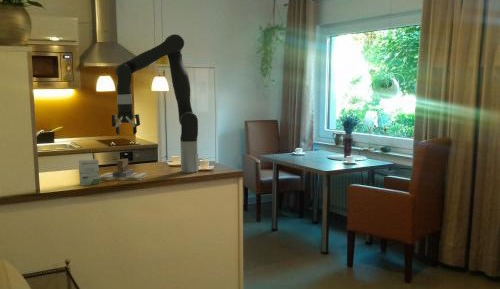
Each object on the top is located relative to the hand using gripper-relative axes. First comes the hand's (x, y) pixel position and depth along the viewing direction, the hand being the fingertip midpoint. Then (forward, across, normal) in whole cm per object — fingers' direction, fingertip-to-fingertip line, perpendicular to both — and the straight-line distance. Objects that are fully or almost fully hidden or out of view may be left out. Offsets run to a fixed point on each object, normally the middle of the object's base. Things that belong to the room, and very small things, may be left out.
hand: (126, 134), depth 235 cm
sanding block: (+21, +2, +4) cm, 21 cm away
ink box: (+22, +13, +20) cm, 33 cm away
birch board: (+22, +2, +4) cm, 23 cm away
